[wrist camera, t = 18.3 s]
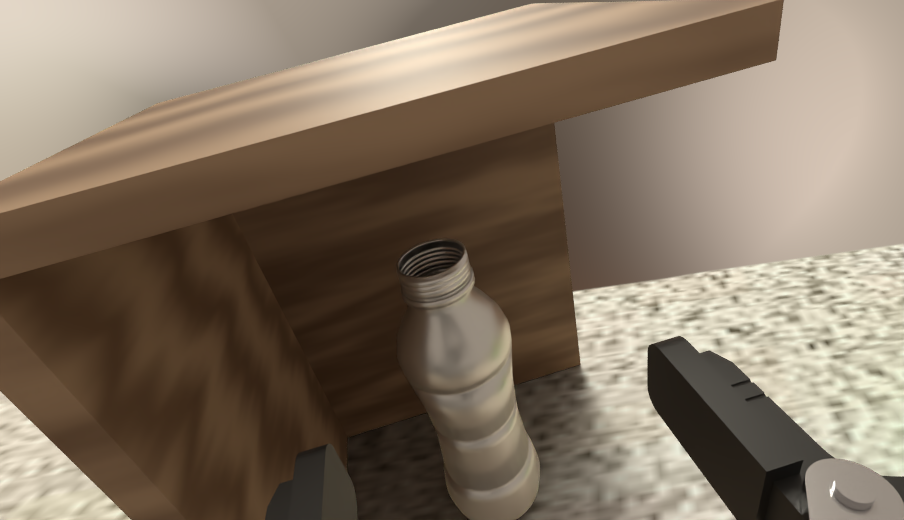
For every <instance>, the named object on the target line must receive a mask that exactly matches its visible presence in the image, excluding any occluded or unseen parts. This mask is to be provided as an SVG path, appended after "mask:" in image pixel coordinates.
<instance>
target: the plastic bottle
mask: <svg viewBox="0 0 904 520" xmlns="http://www.w3.org/2000/svg"><path fill="white" fill-rule="evenodd" d="M396 269H397V275H398V278H399V281H400V284H401V294H402V297H403V300H404V302H405V303H406V304H407V305H408V308H407V310H406V312H405V314H404V316H403V319H402V322H401V325H400V328H399V331H398V335H397V358H398V362H399V365H400V367H401V369H402V371H403V373H404V375H405V376H406V378H407V379H408V381H409V383H410V384H411V386H412V387H413V389H414V391H415V392H416V394H417V395H418V397H419V399H420V400H421V402H422V403H423V405H424V407H425V409H426V411H427V413H428V415H429V418H430V420H431V422H432V424H433V426H434V428H435V431H436V433H437V435H438V439H439V443H440V447H441V451H442V456H443V462H444V474H445V480H446V486H447V489H448V492H449V495H450V497H451V498H452V500H453V502H454V503H455V505H456V506H457V507H458V508H459V510H460V511H461V512H462V513H463V514H464V515H465V516H466V517H467V518H468V519H470V520H516V519H518V518H519V517H520V516H522V515H523V514H524V513H525V512H526V511H527V510H528V509H529V508H530V507H531V505H532V503H533V502H534V500H535V498H536V495H537V492H538V488H539V479H540V463H539V458H538V455H537V452H536V450H535V448H534V445H533V443H532V441H531V439H530V437H529V436H528V434H527V432H526V431H525V428H524V425H523V422H522V419H521V416H520V414H519V411H518V408H517V402H516V397H515V389H514V382H513V374H512V339H511V331H510V325H509V322H508V319H507V318H506V316H505V315H504V313H503V311H502V310H501V308H500V307H499V306H498V304H497V303H496V302H495V301H494V300H492V299H491V298H490V297H489V296H488V295H486V294H485V293H484V292H483V291H481V290H480V289H478V288H477V287H475V286H474V283H475V277H474V272H473V269H472V267H471V266H470V264H469V259H468V255H467V251H466V249H465V246H464V245H463V243H461V242H460V241H457V240H455V239H447V238H442V239H434V240H429V241H426V242H423V243H420V244H418V245H416V246H414V247H412V248H410V249H409V250H407V251H406V252H405V253H403V254H402V256H401V257H400V258H399V259H398V261H397V264H396Z"/></svg>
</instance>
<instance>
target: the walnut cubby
mask: <svg viewBox="0 0 904 520" xmlns="http://www.w3.org/2000/svg"><path fill="white" fill-rule="evenodd" d="M783 2H784V0H683V1H682V0H681V1H638V2H637V1H633V2H585V3H536V4H529V5H525V6H522V7H518V8H514V9H510V10H506V11H503V12H499V13H495V14H491V15H488V16H484V17H480V18H477V19H473V20H469V21H465V22H461V23H458V24H454V25H450V26H446V27H443V28H439V29H435V30H431V31H427V32H424V33H420V34H416V35H412V36H409V37H405V38H401V39H397V40H394V41H390V42H387V43H383V44H379V45H375V46H371V47H367V48H363V49H360V50H356V51H352V52H348V53H345V54H341V55H337V56H334V57H330V58H326V59H322V60H318V61H315V62H311V63H307V64H304V65H300V66H296V67H292V68H289V69H285V70H281V71H277V72H273V73H269V74H266V75H262V76H258V77H255V78H251V79H247V80H243V81H239V82H236V83H232V84H228V85H224V86H221V87H217V88H213V89H209V90H206V91H202V92H198V93H195V94H191V95H187V96H183V97H179V98H175V99H172V100H168V101H164V102H161V103H157V104H155V105H153V106H151V107H149V108H147V109H145V110H143V111H141V112H139V113H137V114H135V115H133V116H131V117H129V118H127V119H125V120H123V121H121V122H119V123H117V124H115V125H113V126H111V127H109V128H107V129H105V130H103V131H101V132H99V133H97V134H95V135H93V136H91V137H89V138H87V139H85V140H83V141H81V142H79V143H77V144H75V145H73V146H71V147H69V148H67V149H65V150H63V151H61V152H59V153H57V154H55V155H53V156H51V157H49V158H46V159H45V160H42V161H41V162H38V163H36V164H34V165H33V166H30V167H28V168H26V169H24V170H23V171H21V172H18V173H16V174H14V175H12V176H10V177H8V178H6V179H4V180H2V181H0V391H1V392H2V393H3V394H4V395H5V396H6V397H7V398H8V399H9V400H10V401H11V402H12V403H13V404H14V405H15V406H16V407H17V408H18V409H19V410H20V411H21V412H22V413H23V414H24V415H25V416H26V417H27V418H28V419H29V420H30V421H31V422H32V423H33V424H34V425H36V426H37V427H38V428H39V429H40V430H41V431H42V432H43V433H44V434H45V435H46V436H47V437H48V438H49V439H50V440H51V441H52V442H53V443H54V444H55V445H56V446H57V447H58V448H59V449H60V450H61V451H62V452H63V453H64V454H65V455H66V456H67V457H68V458H69V459H70V460H71V461H72V462H73V463H74V464H75V465H76V466H77V467H78V468H79V469H80V470H81V471H82V472H83V473H84V474H85V475H86V476H87V477H88V478H89V479H90V480H92V481H93V482H94V483H95V484H96V485H97V486H98V487H99V488H100V489H101V490H102V491H103V492H104V493H105V494H106V495H107V496H108V497H109V498H110V499H111V500H112V501H113V502H114V503H115V504H116V505H117V506H118V507H119V508H120V509H121V510H122V511H123V512H124V513H125V514H126V515H127V516H128V517H129V518H130V519H131V520H265V517H266V511H267V507H268V505H269V503H270V501H271V499H272V497H273V495H274V493H275V491H276V489H277V487H278V485H279V484H280V483H283V482H286V481H289V480H293V475H294V467H295V460H296V456H297V454H298V453H299V452H303V451H306V450H309V449H312V448H316V447H319V446H322V445H326V444H331V445H332V446H333V447H334V449H335V451H336V453H337V454H338V456H339V458H340V460H341V462H342V463H343V465H344V467H345V469H346V471H347V438H348V437H351V436H354V435H357V434H360V433H363V432H367V431H370V430H373V429H376V428H379V427H383V426H386V425H389V424H392V423H395V422H399V421H402V420H405V419H408V418H411V417H414V416H418V415H421V414H424V413H427V411H426V409H425V407H424V405H423V403H422V402H421V400H420V399H419V397H418V395H417V394H416V392H415V391H414V389H413V387H412V386H411V384H410V383H409V381H408V379H407V378H406V376H405V375H404V373H403V371H402V369H401V367H400V365H399V362H398V358H397V335H398V331H399V328H400V325H401V322H402V319H403V316H404V314H405V312H406V310H407V308H408V305H407V304H406V303H405V302H404V300H403V297H402V294H401V284H400V281H399V278H398V275H397V269H396V264H397V261H398V259H399V258H400V257H401V256H402V254H403V253H405V252H406V251H407V250H409V249H410V248H412V247H414V246H416V245H418V244H420V243H423V242H426V241H429V240H434V239H442V238H447V239H455V240H457V241H460V242H461V243H463V245H464V246H465V249H466V251H467V255H468V259H469V264H470V266H471V267H472V269H473V272H474V277H475V283H474V286H475V287H477V288H478V289H480V290H481V291H483V292H484V293H485V294H486V295H488V296H489V297H490V298H491V299H492V300H494V301H495V302H496V303H497V304H498V306H499V307H500V308H501V310H502V311H503V313H504V315H505V316H506V318H507V319H508V322H509V325H510V331H511V339H512V374H513V382H514V385H516V384H520V383H523V382H526V381H529V380H532V379H536V378H539V377H542V376H545V375H548V374H552V373H555V372H558V371H561V370H564V369H567V368H571V367H574V366H577V365H580V356H579V347H578V337H577V328H576V319H575V310H574V301H573V291H572V282H571V275H570V264H569V255H568V246H567V237H566V227H565V218H564V209H563V200H562V191H561V181H560V172H559V163H558V154H557V145H556V135H555V126H554V123H555V122H558V121H562V120H565V119H569V118H573V117H576V116H580V115H583V114H587V113H590V112H594V111H597V110H601V109H605V108H608V107H612V106H615V105H619V104H622V103H625V102H629V101H632V100H636V99H640V98H644V97H647V96H651V95H654V94H658V93H661V92H665V91H668V90H672V89H675V88H678V87H683V86H686V85H689V84H693V83H696V82H700V81H704V80H707V79H711V78H714V77H718V76H722V75H725V74H728V73H732V72H736V71H739V70H743V69H746V68H750V67H753V66H757V65H761V64H764V63H768V62H771V61H775V60H776V57H777V49H778V41H779V32H780V26H781V18H782V10H783Z"/></svg>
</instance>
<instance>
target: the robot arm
mask: <svg viewBox="0 0 904 520" xmlns="http://www.w3.org/2000/svg"><path fill="white" fill-rule="evenodd" d="M648 392H649V396H650V399H651V401H652V404H653V406H654V408H655V409H656V411H657V412H658V414H659V415H660V416H661V418H662V419H663V421H664V422H665V423H666V425H667V426H668V427H669V429H670V430H671V431H672V433H673V434H674V435H675V437H676V438H677V439H678V441H679V442H680V444H681V445H682V446H683V448H684V449H685V450H686V452H687V453H688V454H689V456H690V457H691V458H692V460H693V461H694V463H695V464H696V465H697V467H698V468H699V469H700V471H701V472H702V473H703V475H704V476H705V477H706V479H707V480H708V482H709V483H710V484H711V486H712V487H713V488H714V490H715V491H716V492H717V494H718V495H719V496H720V498H721V499H722V500H723V502H724V503H725V505H726V506H727V507H728V509H729V510H730V511H731V513H732V514H733V515H734V517H735V518H736V519H737V520H904V477H895V476H880V475H879V474H878V473H876V472H874V471H873V470H871V469H869V468H867V467H865V466H863V465H860V464H858V463H855V462H852V461H848V460H843V459H835V458H834V457H832V456H831V455H830V454H828V453H827V452H826V451H825V450H824V449H823V448H821V447H820V446H819V445H818V444H817V443H816V442H815V441H814V440H813V439H812V438H811V437H810V436H809V435H808V434H807V433H806V432H805V431H804V430H803V429H802V428H801V427H800V426H798V425H797V424H796V423H795V422H794V421H793V420H792V419H791V418H790V417H789V416H788V415H787V414H786V413H785V412H784V411H783V410H782V409H781V408H780V407H779V406H778V405H776V404H775V403H774V402H773V401H772V400H771V399H770V398H769V397H766V396H765V394H764V392H763V391H762V390H761V389H760V388H759V387H758V386H757V385H756V384H755V383H751V381H750V379H749V378H748V377H747V376H746V375H745V374H744V373H743V372H742V371H741V370H740V369H739V368H738V367H737V366H736V365H735V364H734V363H733V362H731V361H729V360H727V359H725V358H723V357H721V356H719V355H717V354H715V353H713V352H711V351H706V352H703V353H699V352H698V351H697V350H696V349H695V348H694V347H693V346H692V345H691V344H690V343H689V342H688V341H687V340H686V339H684V338H683V337H681V336H677V337H674V338H671V339H667V340H664V341H661V342H658V343H654V344H651V345H649V347H648ZM265 520H357V500H356V493H355V489H354V486H353V483H352V480H351V478H350V476H349V474H348V473H347V471H346V469H345V467H344V465H343V463H342V462H341V460H340V458H339V456H338V454H337V453H336V451H335V449H334V447H333V446H332V445H331V444H326V445H322V446H319V447H316V448H312V449H309V450H306V451H303V452H299V453H298V454H297V456H296V460H295V467H294V475H293V480H289V481H286V482H283V483H280V484H279V485H278V487H277V489H276V491H275V493H274V495H273V497H272V499H271V501H270V503H269V505H268V507H267V511H266V517H265Z"/></svg>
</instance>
